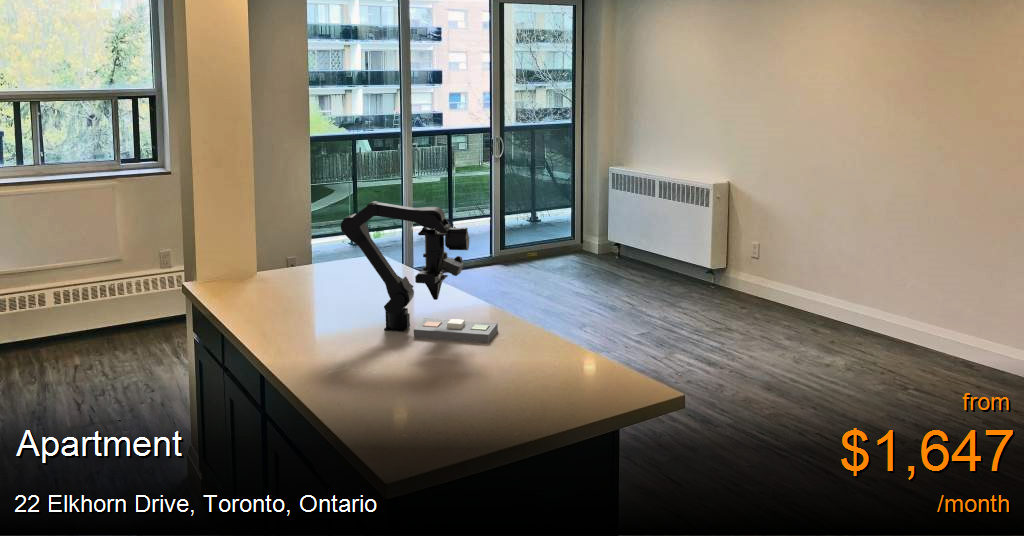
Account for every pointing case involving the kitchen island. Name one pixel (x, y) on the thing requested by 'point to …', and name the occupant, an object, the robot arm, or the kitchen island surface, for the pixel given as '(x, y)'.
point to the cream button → (456, 324)
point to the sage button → (480, 327)
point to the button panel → (456, 331)
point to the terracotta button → (432, 324)
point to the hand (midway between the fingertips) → (435, 299)
